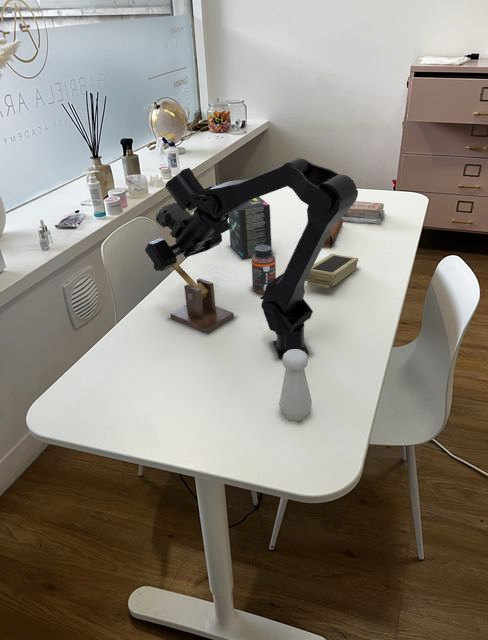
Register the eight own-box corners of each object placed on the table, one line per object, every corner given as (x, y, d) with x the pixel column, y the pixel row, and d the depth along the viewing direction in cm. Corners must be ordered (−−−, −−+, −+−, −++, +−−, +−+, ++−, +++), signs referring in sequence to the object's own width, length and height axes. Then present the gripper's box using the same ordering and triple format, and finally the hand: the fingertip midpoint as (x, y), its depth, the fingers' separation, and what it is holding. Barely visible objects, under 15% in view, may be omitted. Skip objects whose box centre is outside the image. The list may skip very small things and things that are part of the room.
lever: (155, 260, 130) (159, 250, 128) (167, 255, 133) (171, 245, 130) (195, 303, 128) (200, 294, 125) (206, 297, 130) (211, 288, 128)
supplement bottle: (273, 295, 140) (272, 253, 134) (250, 294, 141) (248, 252, 135) (278, 284, 145) (277, 243, 139) (255, 283, 146) (253, 242, 140)
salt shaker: (310, 403, 104) (311, 343, 97) (313, 423, 99) (314, 362, 92) (278, 404, 104) (277, 345, 97) (280, 424, 99) (279, 363, 92)
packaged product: (385, 200, 184) (381, 210, 176) (384, 214, 187) (380, 224, 179) (331, 196, 189) (325, 205, 181) (331, 210, 192) (324, 220, 184)
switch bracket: (170, 318, 132) (166, 284, 127) (197, 303, 138) (194, 271, 133) (207, 334, 126) (203, 299, 121) (234, 318, 131) (231, 284, 127)
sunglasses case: (316, 222, 180) (327, 205, 177) (334, 234, 181) (346, 218, 177) (305, 244, 166) (317, 226, 162) (325, 257, 167) (337, 239, 163)
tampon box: (272, 254, 162) (271, 204, 154) (242, 259, 159) (239, 209, 151) (258, 241, 171) (256, 193, 163) (229, 246, 168) (226, 198, 160)
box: (302, 288, 140) (304, 269, 138) (331, 267, 159) (333, 250, 156) (334, 294, 137) (336, 275, 135) (360, 272, 156) (362, 254, 153)
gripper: (208, 183, 124) (179, 221, 136) (144, 207, 112) (118, 246, 124) (237, 225, 124) (205, 259, 136) (175, 252, 112) (147, 287, 124)
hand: (170, 262), depth 130 cm, fingers open, 9 cm apart
